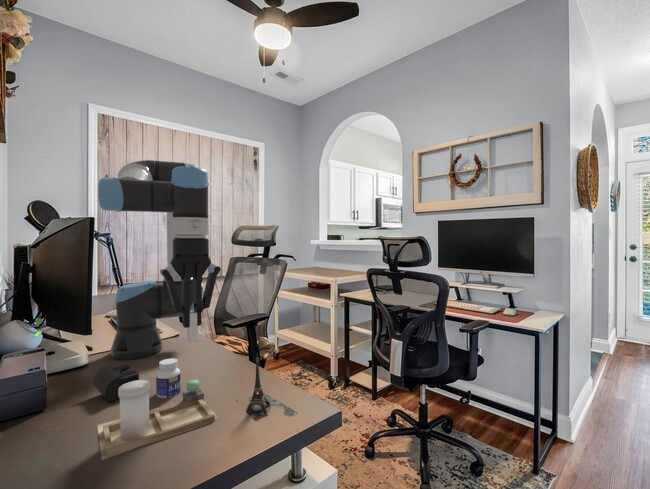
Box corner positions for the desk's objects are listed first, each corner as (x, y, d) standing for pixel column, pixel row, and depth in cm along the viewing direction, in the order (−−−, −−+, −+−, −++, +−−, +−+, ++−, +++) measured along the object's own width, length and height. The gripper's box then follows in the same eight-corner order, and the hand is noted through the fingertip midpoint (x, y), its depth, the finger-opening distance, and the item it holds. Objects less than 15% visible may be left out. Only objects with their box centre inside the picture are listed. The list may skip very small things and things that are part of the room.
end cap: (93, 396, 81) (92, 369, 80) (125, 386, 86) (125, 360, 86) (105, 410, 74) (105, 381, 74) (140, 399, 79) (139, 371, 79)
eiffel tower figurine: (299, 415, 73) (298, 355, 72) (260, 435, 65) (259, 368, 65) (260, 392, 83) (259, 340, 83) (222, 407, 76) (222, 350, 76)
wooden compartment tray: (97, 430, 66) (96, 415, 66) (199, 400, 78) (199, 387, 78) (101, 466, 56) (101, 448, 56) (219, 425, 68) (219, 409, 68)
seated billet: (117, 432, 64) (116, 384, 63) (148, 422, 67) (147, 377, 67) (120, 445, 59) (119, 395, 59) (153, 435, 63) (152, 387, 62)
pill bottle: (171, 404, 77) (170, 366, 76) (151, 402, 78) (150, 364, 77) (185, 393, 82) (184, 358, 82) (166, 391, 83) (166, 356, 83)
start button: (185, 396, 76) (185, 381, 76) (197, 393, 77) (197, 378, 77) (188, 401, 74) (188, 385, 74) (200, 397, 75) (200, 382, 75)
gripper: (163, 237, 68) (164, 351, 69) (225, 237, 76) (226, 339, 76) (155, 237, 74) (157, 341, 75) (214, 236, 82) (215, 331, 82)
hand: (192, 340), depth 76 cm, fingers closed
